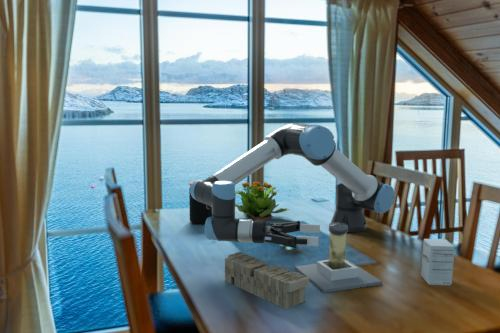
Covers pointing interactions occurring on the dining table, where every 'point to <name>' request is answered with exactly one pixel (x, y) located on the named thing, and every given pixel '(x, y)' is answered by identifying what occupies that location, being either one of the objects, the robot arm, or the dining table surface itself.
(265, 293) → the block tower
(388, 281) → the dining table surface
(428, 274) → the supplement box
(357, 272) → the socket plate
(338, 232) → the lidded glass jar
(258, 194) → the potted flower
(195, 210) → the coffee jar
